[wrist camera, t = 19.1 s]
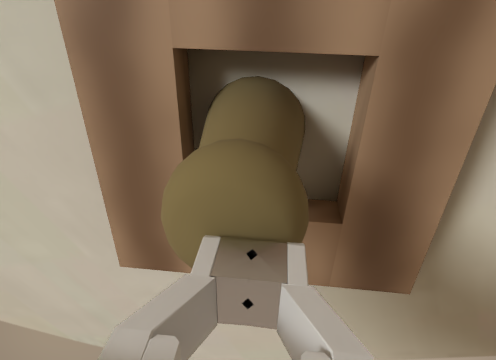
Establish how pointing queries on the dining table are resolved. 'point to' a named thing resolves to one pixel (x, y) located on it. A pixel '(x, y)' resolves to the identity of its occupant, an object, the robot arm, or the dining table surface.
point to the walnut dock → (362, 130)
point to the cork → (241, 172)
